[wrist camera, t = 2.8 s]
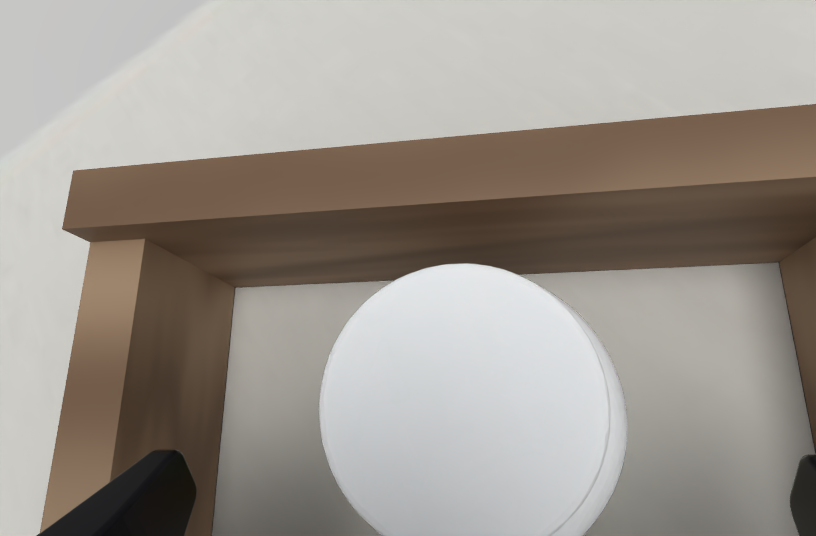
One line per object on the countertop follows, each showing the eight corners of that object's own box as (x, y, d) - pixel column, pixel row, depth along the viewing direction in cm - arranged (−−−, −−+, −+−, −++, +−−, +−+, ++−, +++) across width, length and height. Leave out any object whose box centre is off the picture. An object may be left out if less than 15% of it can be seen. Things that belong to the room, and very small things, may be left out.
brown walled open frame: (926, 640, 14) (1217, 782, 8) (156, 596, 17) (-23, 673, 11) (828, 207, 17) (986, 88, 11) (196, 245, 20) (72, 170, 15)
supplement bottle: (370, 385, 18) (213, 326, 9) (522, 300, 18) (526, 151, 9) (454, 558, 16) (366, 715, 7) (624, 465, 16) (767, 499, 7)
